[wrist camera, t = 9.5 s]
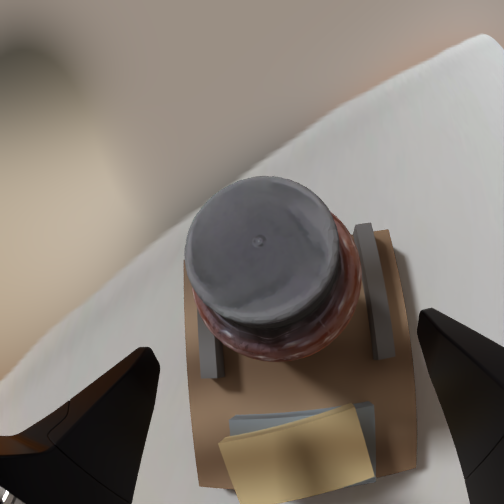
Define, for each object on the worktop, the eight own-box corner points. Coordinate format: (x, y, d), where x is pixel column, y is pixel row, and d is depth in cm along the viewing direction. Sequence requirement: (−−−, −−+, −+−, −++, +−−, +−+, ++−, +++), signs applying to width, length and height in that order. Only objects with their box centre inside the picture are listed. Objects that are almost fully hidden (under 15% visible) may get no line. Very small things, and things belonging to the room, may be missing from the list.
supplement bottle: (287, 244, 19) (251, 116, 9) (361, 300, 17) (424, 218, 6) (225, 315, 18) (115, 259, 8) (298, 378, 16) (271, 418, 6)
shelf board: (407, 458, 14) (431, 483, 10) (209, 476, 16) (181, 503, 12) (382, 240, 20) (398, 208, 15) (194, 268, 22) (164, 244, 18)
